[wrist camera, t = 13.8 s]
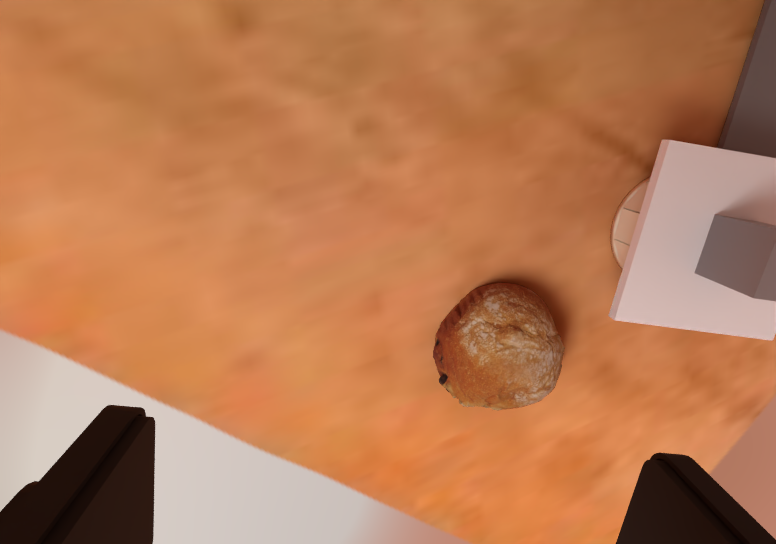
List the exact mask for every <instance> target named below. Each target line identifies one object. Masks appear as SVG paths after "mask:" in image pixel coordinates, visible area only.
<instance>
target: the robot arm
mask: <svg viewBox="0 0 776 544" xmlns="http://www.w3.org/2000/svg"><path fill="white" fill-rule="evenodd" d="M154 461H155V420H154V418H153V417H146V414H145V410H144V409H143V408H139V407H127V406H116V405H109V406H106V407H105V408H104V409H103V410H102V411H101V412H100V413H99V415H98V416H97V417H96V418H95V419H94V420H93V421H92V422H91V423H90V425H89V426H88V427H87V428H86V429H85V430H84V431H83V432H82V434H81V435H80V436H79V437H78V438H77V439H76V440H75V441H74V443H73V444H72V445H71V446H70V447H69V448H68V450H66V452H65V453H64V454H63V455H62V456H61V457H60V458H59V459H58V461H57V462H56V463H55V464H54V465H53V466H52V467H51V469H50V470H49V471H48V472H47V473H46V474H45V475H44V476H43V478H42V479H41V480H40V481H39V482H37V481H34V482H32V483H29V484H27V485H26V486H25V487H24V488H23V489H21V490H20V491H19V492H18V493H17V494H16V495H15V496H14V498H13V499H12V500H11V501H10V502H9V503H8V504H7V505H6V506H5V507H4V508H3V509H2V511H1V512H0V544H152V543H153V521H154V520H153V519H154V463H155V462H154ZM616 544H776V540H775V539H774V538H773V537H772V536H771V535H770V534H769V533H768V532H767V531H766V530H765V529H764V528H763V527H762V526H761V525H760V524H759V523H758V522H757V521H756V520H755V519H754V518H753V517H752V516H751V515H749V513H748V512H747V511H745V509H743V507H741V506H740V505H739V504H738V503H737V502H736V501H735V500H734V499H733V498H732V497H731V496H730V495H729V494H728V493H727V492H726V491H725V490H724V489H723V488H722V487H721V486H720V485H719V484H718V483H717V482H716V481H715V480H713V478H712V477H711V476H710V475H709V474H708V473H707V472H706V471H705V470H704V469H703V468H701V467H700V466H699V465H698V464H697V463H696V462H695V461H694V460H693V459H692V458H690V457H689V456H686V455H679V454H667V453H656V454H654V455H653V456H652V457H651V459H650V460H647V461H646V462H645V463H644V464H643V467H642V469H641V472H640V475H639V478H638V481H637V484H636V487H635V490H634V493H633V496H632V498H631V501H630V504H629V507H628V510H627V513H626V516H625V519H624V522H623V525H622V527H621V530H620V533H619V536H618V539H617V542H616Z"/></svg>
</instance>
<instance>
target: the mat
mask: <svg viewBox="0 0 776 544" xmlns="http://www.w3.org/2000/svg"><path fill="white" fill-rule="evenodd" d="M717 148H720V149H725V150H731V151H737V152H743V153H748V154H754V155H760V156H765V157H771V158H776V0H765V2H764V5H763V8H762V11H761V14H760V17H759V20H758V24H757V27H756V30H755V33H754V36H753V39H752V42H751V45H750V48H749V51H748V54H747V57H746V60H745V64H744V67H743V70H742V73H741V76H740V79H739V82H738V85H737V88H736V91H735V94H734V97H733V100H732V104H731V107H730V110H729V113H728V116H727V119H726V122H725V125H724V128H723V131H722V134H721V137H720V140H719V144H718V147H717Z"/></svg>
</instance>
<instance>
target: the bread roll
mask: <svg viewBox="0 0 776 544" xmlns="http://www.w3.org/2000/svg"><path fill="white" fill-rule="evenodd" d="M564 349H565V348H564V346H563V344H562V341H561V338H560V336H559V335H558V332H557V330H556V328H555V324H554V322H553V318H552V317H551V315H550V312H549V310H548V308H547V306H546V304H545V303H544V301H543V300H542V299H541V298H540V297H539V296H538V295H537V294H535V293H534V292H533V291H531V290H530V289H528V288H526V287H524V286H521V285H517V284H512V283H495V284H490V285H486V286H481V287H479V288H477V289H475V290H473V291H471V292H470V293H469V294H467V296H466V297H465V298H463V299H462V300H461V301H460V303H459V304H458V305H456V306H455V307H454V308H453V310H452V311H451V312H450V313H449V314H448V315H447V317H446V318H445V319H444V320H443V322H442V323H441V325H440V328H439V330H438V331H437V333H436V338H435V347H434V350H433V358H434V359H435V363H436V366H437V369H438V372H439V374H440V378H439V382H440V384H441V385H442V386H444V387H445V388H446V390H447V391H448V392H450V393H451V395H452V396H453V398H458V399H459V403H460V404H461V405H463V406H466V407H475V406H478V407H485V408H491V409H493V410H502V409H512V408H519V407H524V406H527V405H531V404H533V403H536V402H538V401H541V400H542V399H543V398H544V397H545V396H547V395H548V394H549V393H550V392H551V391H552V390H553V389H554V388H555V386H556V383H557V380H558V378H559V375H560V371H561V368H562V364H561V363H562V359H563V354H564Z"/></svg>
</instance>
